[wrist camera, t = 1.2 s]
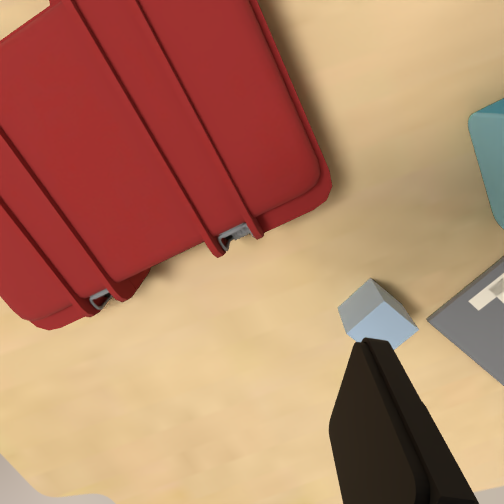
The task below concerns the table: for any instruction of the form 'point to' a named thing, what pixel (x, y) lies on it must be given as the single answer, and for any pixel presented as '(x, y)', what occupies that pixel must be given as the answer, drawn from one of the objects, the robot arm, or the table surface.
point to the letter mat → (477, 320)
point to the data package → (490, 153)
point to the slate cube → (376, 316)
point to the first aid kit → (141, 146)
